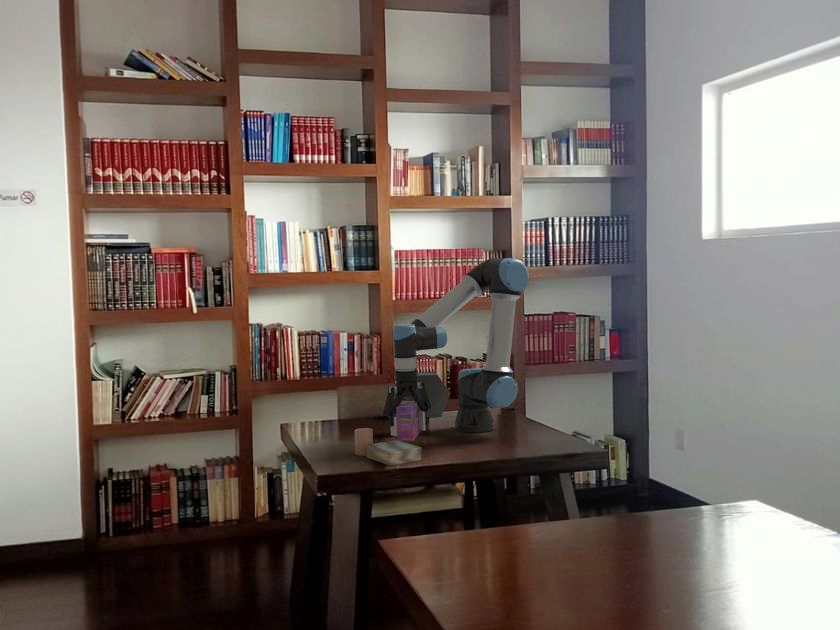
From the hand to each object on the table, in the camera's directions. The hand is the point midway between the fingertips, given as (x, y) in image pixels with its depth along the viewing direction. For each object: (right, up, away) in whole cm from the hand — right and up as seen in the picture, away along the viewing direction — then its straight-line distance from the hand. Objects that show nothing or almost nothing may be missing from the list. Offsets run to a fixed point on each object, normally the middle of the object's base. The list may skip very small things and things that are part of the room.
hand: (408, 432), depth 283 cm
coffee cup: (-2, -4, +23) cm, 24 cm away
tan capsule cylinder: (-15, -6, -8) cm, 18 cm away
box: (0, -2, 0) cm, 2 cm away
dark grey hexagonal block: (+6, -1, +58) cm, 58 cm away
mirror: (-4, -6, -15) cm, 17 cm away
